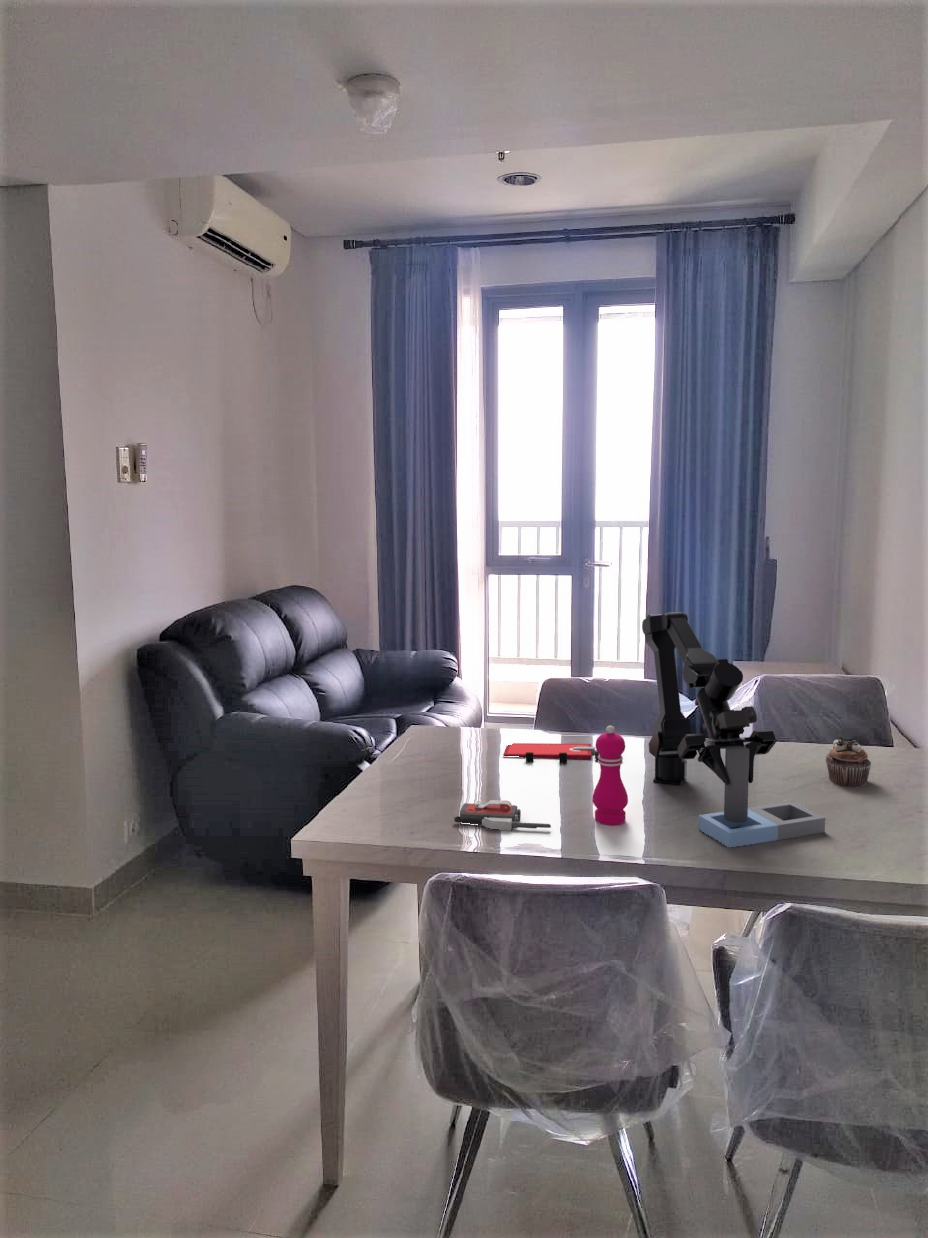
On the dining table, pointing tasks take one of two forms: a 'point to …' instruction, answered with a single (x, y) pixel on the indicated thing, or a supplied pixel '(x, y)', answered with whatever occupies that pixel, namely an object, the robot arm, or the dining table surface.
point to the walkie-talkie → (494, 815)
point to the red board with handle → (551, 751)
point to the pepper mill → (610, 780)
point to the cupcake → (848, 763)
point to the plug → (736, 784)
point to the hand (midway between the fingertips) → (739, 783)
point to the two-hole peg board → (763, 824)
